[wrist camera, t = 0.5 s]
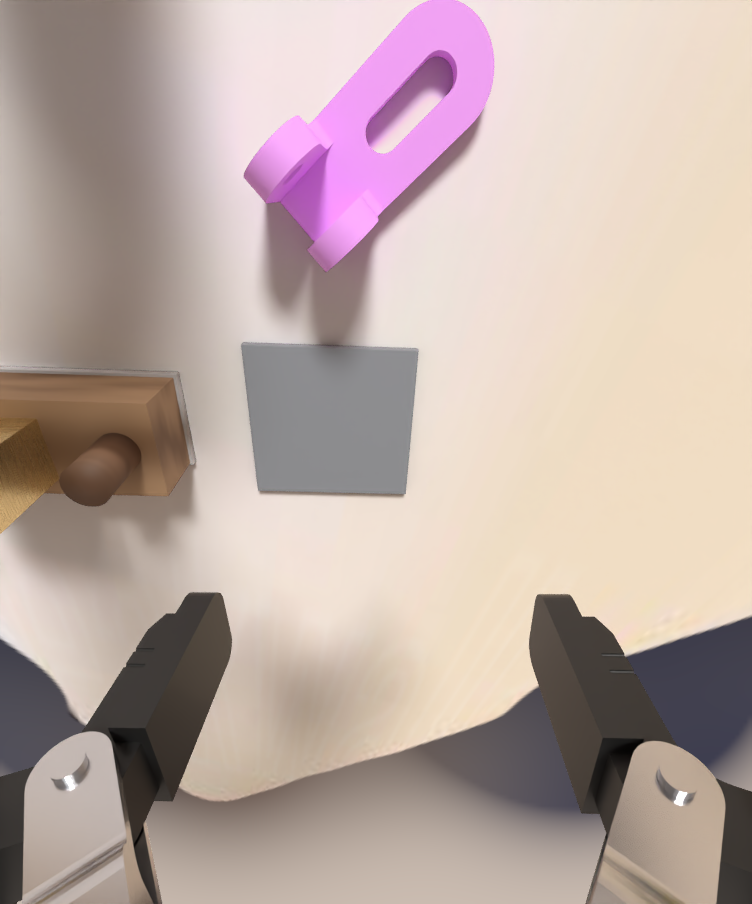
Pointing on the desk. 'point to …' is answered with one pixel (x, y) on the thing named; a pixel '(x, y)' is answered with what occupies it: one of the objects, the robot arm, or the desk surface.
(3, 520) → the lever cap
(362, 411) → the mat
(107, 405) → the plane body
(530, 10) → the desk surface
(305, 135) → the bracket
